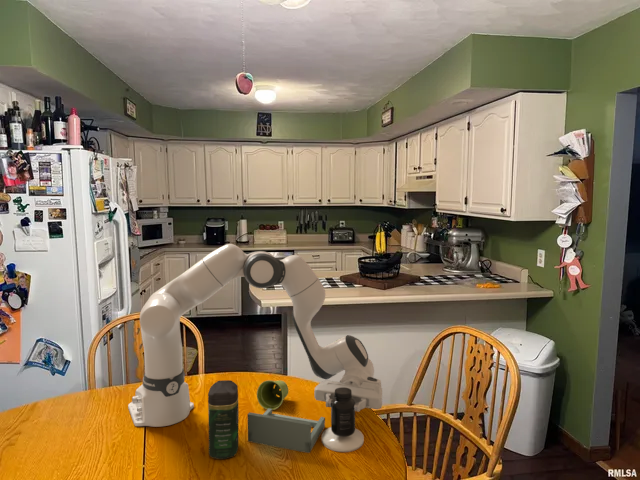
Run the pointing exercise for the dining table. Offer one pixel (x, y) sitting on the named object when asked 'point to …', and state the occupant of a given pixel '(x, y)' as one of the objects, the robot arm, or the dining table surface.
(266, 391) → the plant pot
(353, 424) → the supplement bottle
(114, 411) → the dining table surface
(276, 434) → the cold frame
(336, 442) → the white round glossy part
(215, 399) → the coffee jar
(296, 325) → the robot arm
